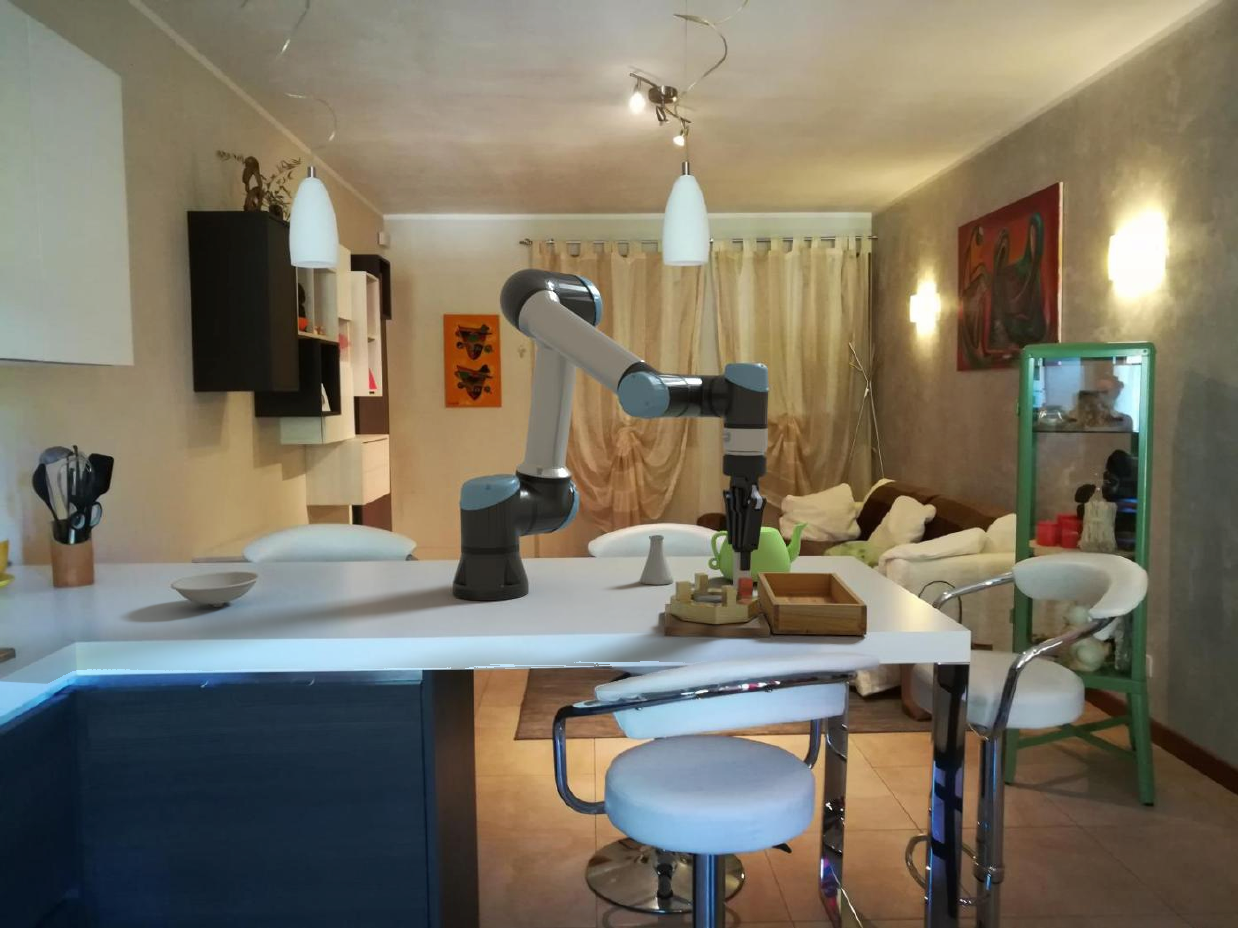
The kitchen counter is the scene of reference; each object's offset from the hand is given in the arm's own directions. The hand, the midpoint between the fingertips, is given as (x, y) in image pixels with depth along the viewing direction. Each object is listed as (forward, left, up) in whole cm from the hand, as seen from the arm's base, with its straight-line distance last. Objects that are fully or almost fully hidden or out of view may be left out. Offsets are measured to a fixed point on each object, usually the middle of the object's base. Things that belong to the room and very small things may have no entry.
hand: (741, 587), depth 155 cm
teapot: (+7, +36, -6) cm, 37 cm away
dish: (-97, +6, -6) cm, 98 cm away
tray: (+12, +5, -6) cm, 15 cm away
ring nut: (-5, -3, -4) cm, 7 cm away
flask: (-15, +33, -6) cm, 37 cm away
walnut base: (-5, -3, -6) cm, 8 cm away
